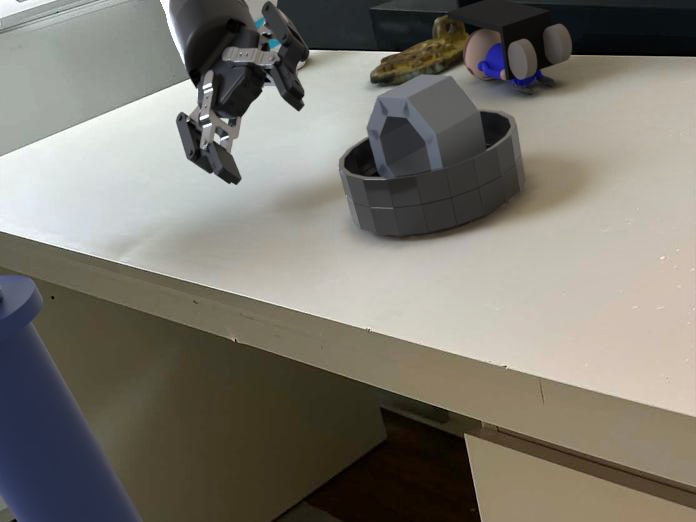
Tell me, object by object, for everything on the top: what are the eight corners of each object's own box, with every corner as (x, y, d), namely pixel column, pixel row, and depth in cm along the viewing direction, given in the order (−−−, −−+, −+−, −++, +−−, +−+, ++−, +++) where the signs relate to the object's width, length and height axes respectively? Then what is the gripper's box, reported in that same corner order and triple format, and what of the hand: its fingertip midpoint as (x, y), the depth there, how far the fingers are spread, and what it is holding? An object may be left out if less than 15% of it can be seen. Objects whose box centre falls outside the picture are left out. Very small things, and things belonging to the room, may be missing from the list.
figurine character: (580, 96, 100) (500, 63, 108) (576, 14, 94) (492, -14, 103) (528, 117, 98) (452, 83, 107) (521, 35, 92) (441, 6, 101)
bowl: (386, 259, 75) (369, 195, 71) (335, 209, 85) (318, 151, 82) (555, 197, 77) (546, 132, 73) (485, 156, 88) (474, 97, 84)
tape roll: (385, 202, 82) (357, 94, 76) (425, 180, 84) (401, 73, 78) (452, 214, 77) (428, 99, 71) (494, 189, 79) (473, 76, 73)
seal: (399, 101, 110) (493, 56, 116) (391, 56, 107) (488, 12, 112) (353, 86, 116) (444, 43, 121) (343, 42, 112) (438, 1, 117)
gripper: (135, 67, 87) (176, 178, 81) (230, -63, 81) (282, 46, 75) (200, 115, 94) (244, 222, 87) (293, -3, 87) (347, 103, 81)
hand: (261, 140), depth 81 cm, fingers open, 8 cm apart
